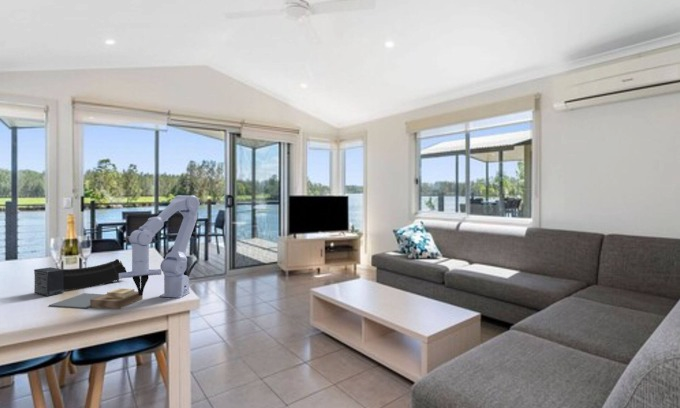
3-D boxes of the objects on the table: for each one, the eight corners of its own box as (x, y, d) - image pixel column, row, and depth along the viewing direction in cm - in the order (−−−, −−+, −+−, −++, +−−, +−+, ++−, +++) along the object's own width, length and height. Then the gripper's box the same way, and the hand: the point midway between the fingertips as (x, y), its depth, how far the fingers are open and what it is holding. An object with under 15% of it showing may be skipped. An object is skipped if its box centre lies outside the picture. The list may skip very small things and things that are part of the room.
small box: (64, 292, 150) (64, 269, 150) (47, 296, 144) (46, 272, 144) (51, 289, 155) (51, 266, 154) (33, 293, 149) (33, 269, 148)
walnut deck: (142, 298, 144) (142, 291, 144) (118, 309, 131) (118, 301, 131) (116, 297, 145) (116, 290, 145) (90, 307, 132) (90, 299, 132)
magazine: (43, 274, 146) (118, 246, 169) (41, 273, 148) (115, 245, 171) (58, 309, 150) (129, 277, 174) (55, 308, 152) (126, 276, 175)
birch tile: (134, 294, 140) (134, 289, 140) (123, 298, 134) (123, 293, 134) (118, 293, 141) (118, 288, 141) (107, 297, 135) (107, 292, 135)
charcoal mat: (118, 296, 147) (118, 295, 147) (86, 308, 131) (86, 307, 131) (84, 294, 149) (84, 293, 149) (48, 306, 133) (48, 305, 133)
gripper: (159, 257, 144) (159, 289, 144) (118, 260, 136) (118, 294, 136) (161, 260, 138) (161, 293, 138) (118, 263, 130) (118, 299, 130)
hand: (140, 294), depth 137 cm, fingers closed
